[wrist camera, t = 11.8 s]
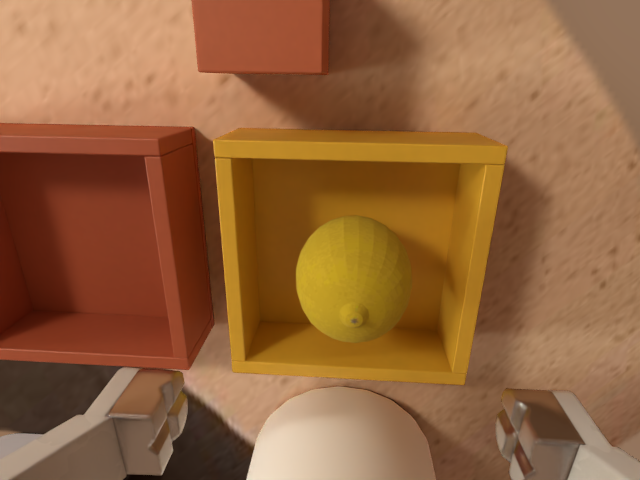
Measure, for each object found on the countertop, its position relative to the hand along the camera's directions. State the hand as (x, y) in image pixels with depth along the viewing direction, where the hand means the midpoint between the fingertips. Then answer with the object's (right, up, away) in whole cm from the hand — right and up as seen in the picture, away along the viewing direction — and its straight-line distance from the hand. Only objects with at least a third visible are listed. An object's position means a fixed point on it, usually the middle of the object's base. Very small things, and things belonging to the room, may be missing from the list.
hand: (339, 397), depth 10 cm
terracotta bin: (-14, +5, +14) cm, 20 cm away
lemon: (+1, +4, +13) cm, 14 cm away
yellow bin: (+1, +4, +13) cm, 14 cm away
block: (-3, +15, +9) cm, 18 cm away
